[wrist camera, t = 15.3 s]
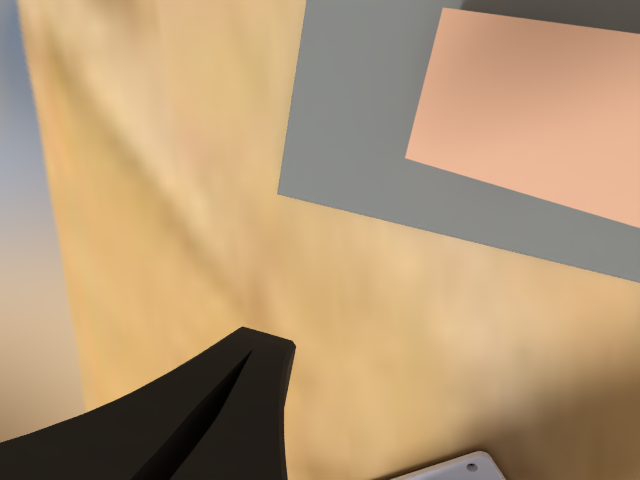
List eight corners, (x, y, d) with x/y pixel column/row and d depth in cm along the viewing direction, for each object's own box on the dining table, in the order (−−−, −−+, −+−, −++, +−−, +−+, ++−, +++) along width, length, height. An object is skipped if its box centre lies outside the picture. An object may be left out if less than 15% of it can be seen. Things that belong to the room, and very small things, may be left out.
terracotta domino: (457, 14, 16) (781, 60, 12) (420, 154, 18) (691, 232, 14) (442, 7, 15) (799, 55, 11) (405, 157, 17) (697, 245, 13)
